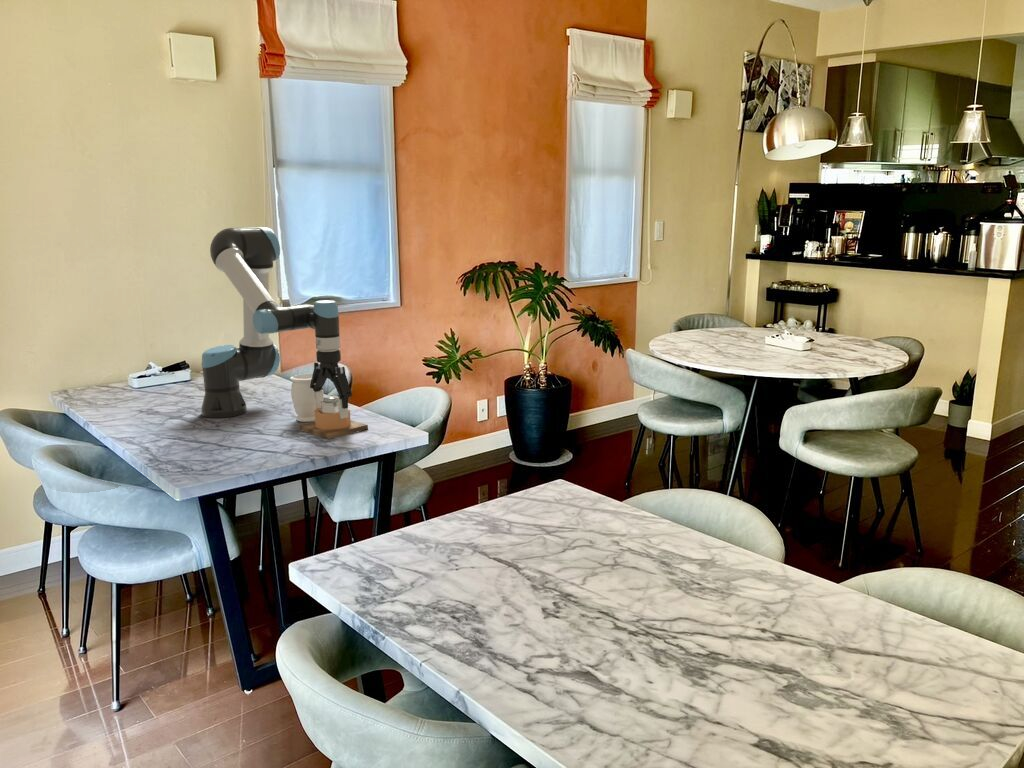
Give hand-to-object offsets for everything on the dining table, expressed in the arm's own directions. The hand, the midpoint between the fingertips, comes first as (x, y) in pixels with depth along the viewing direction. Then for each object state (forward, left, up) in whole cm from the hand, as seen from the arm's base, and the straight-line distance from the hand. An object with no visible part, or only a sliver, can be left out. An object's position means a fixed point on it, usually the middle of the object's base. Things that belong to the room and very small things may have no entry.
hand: (331, 414), depth 266 cm
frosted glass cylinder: (0, 0, -4) cm, 4 cm away
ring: (0, 0, -3) cm, 4 cm away
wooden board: (0, 0, -5) cm, 5 cm away
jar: (-17, +2, -5) cm, 18 cm away
